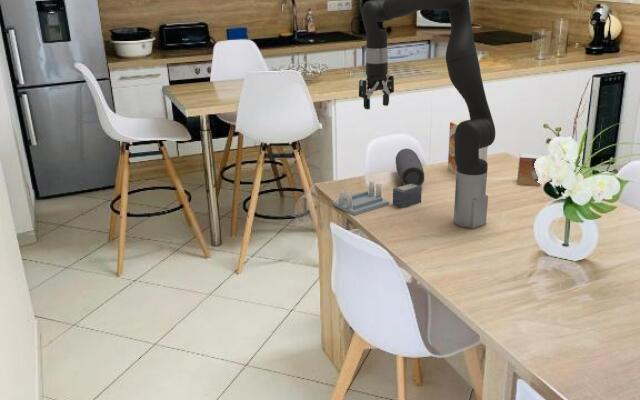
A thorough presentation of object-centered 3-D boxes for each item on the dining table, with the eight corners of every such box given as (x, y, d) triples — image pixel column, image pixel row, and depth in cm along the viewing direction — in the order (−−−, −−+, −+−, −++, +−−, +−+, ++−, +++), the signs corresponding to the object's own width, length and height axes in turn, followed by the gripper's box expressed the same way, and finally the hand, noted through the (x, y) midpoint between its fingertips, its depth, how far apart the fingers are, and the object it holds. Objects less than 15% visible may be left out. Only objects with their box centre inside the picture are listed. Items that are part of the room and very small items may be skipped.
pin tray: (388, 204, 219) (389, 187, 216) (354, 215, 211) (354, 197, 208) (366, 195, 228) (366, 178, 225) (332, 205, 220) (332, 187, 217)
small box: (516, 184, 234) (519, 157, 230) (517, 179, 239) (519, 152, 235) (540, 186, 232) (543, 158, 228) (539, 181, 236) (542, 154, 233)
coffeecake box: (446, 170, 251) (449, 121, 244) (461, 167, 253) (464, 119, 246) (470, 181, 238) (473, 130, 231) (486, 178, 241) (489, 127, 234)
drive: (421, 202, 220) (421, 185, 218) (401, 209, 215) (402, 191, 213) (412, 199, 223) (412, 182, 221) (392, 205, 219) (392, 188, 216)
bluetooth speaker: (425, 192, 229) (426, 165, 226) (399, 192, 230) (400, 165, 226) (418, 171, 250) (418, 146, 247) (394, 171, 251) (394, 147, 247)
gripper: (367, 64, 214) (367, 112, 220) (399, 59, 222) (398, 106, 228) (353, 62, 220) (354, 108, 226) (385, 57, 227) (384, 102, 233)
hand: (376, 107), depth 227 cm, fingers open, 8 cm apart
